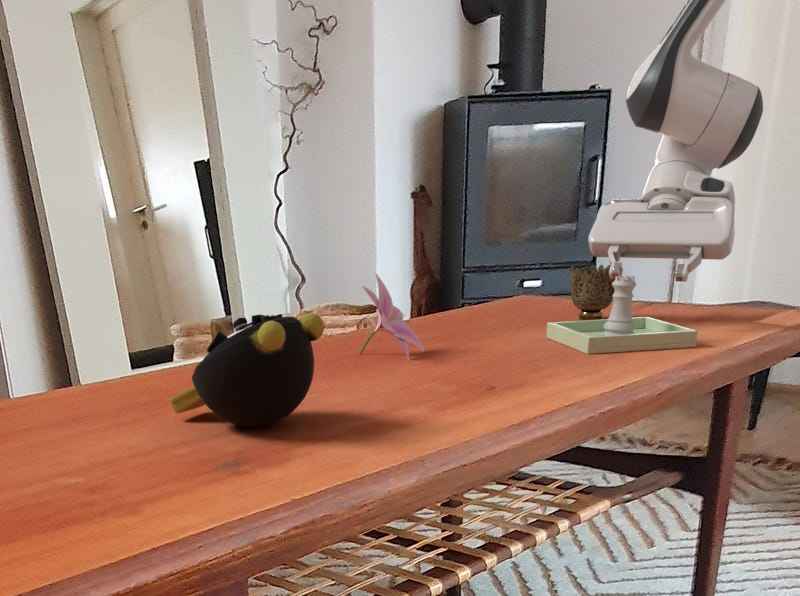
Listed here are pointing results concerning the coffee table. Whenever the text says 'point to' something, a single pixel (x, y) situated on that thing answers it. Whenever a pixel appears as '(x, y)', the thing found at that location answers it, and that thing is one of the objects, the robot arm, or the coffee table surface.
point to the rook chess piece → (621, 308)
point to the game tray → (621, 336)
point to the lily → (391, 319)
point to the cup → (591, 290)
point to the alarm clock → (255, 370)
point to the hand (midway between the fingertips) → (646, 277)
